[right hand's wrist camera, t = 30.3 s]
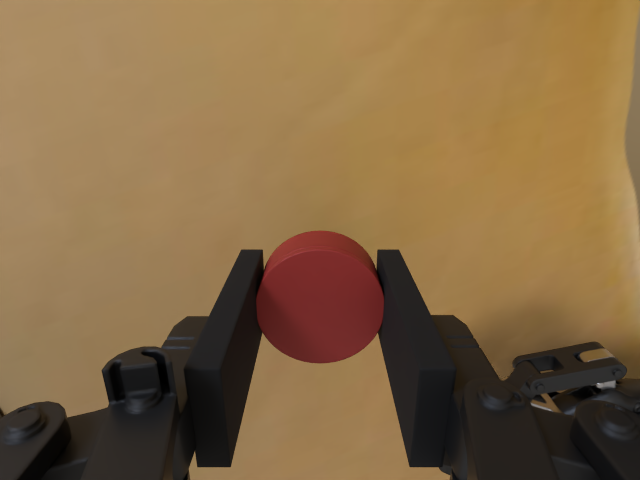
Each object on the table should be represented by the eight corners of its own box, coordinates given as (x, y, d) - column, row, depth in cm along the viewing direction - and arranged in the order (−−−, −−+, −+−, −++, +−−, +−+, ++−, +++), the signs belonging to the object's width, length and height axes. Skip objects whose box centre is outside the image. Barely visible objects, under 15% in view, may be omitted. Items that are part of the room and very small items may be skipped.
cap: (252, 237, 14) (243, 258, 12) (372, 223, 14) (379, 241, 12) (273, 339, 15) (267, 369, 14) (382, 326, 15) (389, 356, 14)
